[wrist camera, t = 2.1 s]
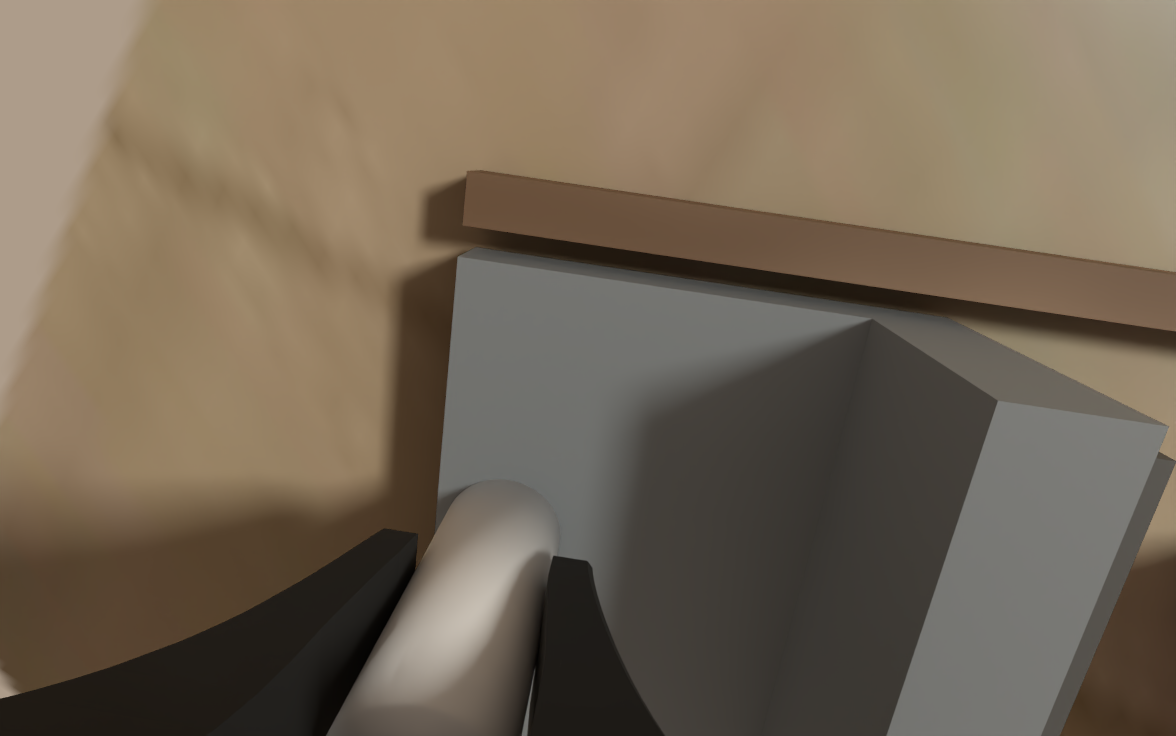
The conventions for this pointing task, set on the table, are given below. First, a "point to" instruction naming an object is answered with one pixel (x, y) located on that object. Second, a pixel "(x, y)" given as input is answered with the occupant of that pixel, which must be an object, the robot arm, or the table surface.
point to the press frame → (822, 249)
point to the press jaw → (760, 513)
